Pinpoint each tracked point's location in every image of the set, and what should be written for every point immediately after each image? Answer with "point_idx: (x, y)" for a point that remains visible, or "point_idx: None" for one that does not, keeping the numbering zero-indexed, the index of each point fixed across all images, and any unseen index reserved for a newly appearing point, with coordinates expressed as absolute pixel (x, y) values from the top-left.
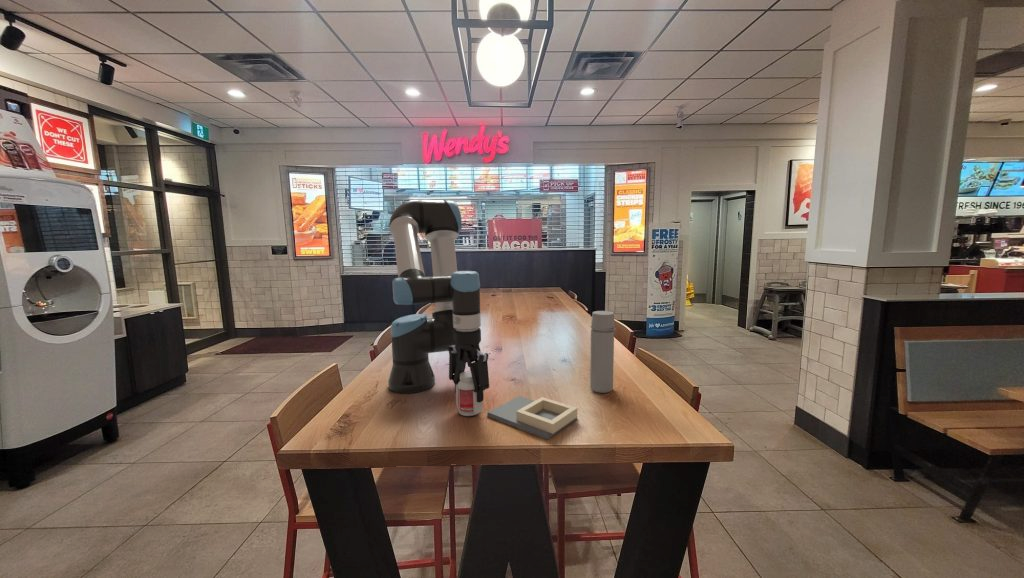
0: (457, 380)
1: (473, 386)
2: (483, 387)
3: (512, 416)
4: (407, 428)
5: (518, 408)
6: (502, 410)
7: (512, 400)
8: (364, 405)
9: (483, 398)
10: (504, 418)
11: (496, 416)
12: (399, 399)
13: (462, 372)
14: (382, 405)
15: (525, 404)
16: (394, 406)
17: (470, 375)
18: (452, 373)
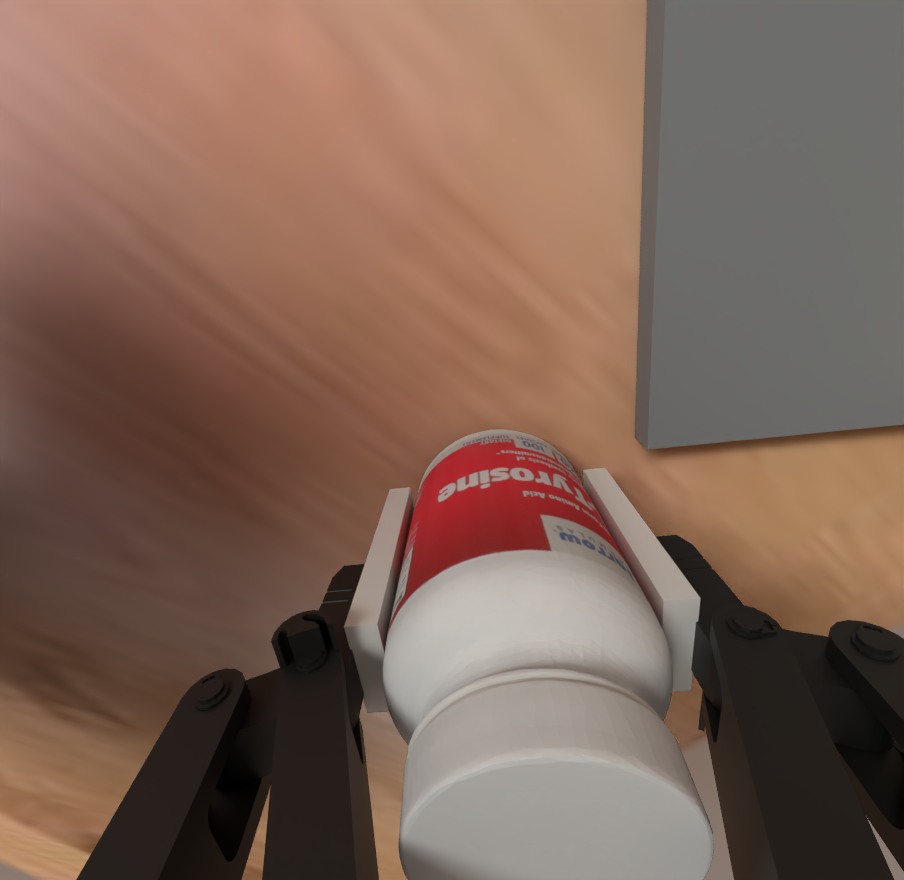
0: (362, 744)
1: (663, 717)
2: (901, 752)
3: (880, 362)
4: (402, 767)
5: (849, 200)
6: (735, 345)
7: (680, 95)
8: (24, 781)
9: (697, 551)
10: (834, 429)
11: (741, 436)
12: (24, 658)
13: (407, 871)
14: (68, 737)
15: (872, 57)
16: (114, 710)
17: (638, 873)
18: (246, 850)
